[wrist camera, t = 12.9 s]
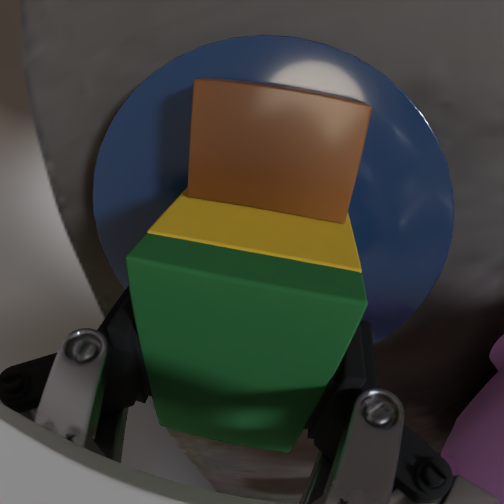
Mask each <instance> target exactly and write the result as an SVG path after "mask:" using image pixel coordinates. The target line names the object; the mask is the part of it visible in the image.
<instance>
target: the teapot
mask: <svg viewBox="0 0 504 504" xmlns="http://www.w3.org/2000/svg"><path fill="white" fill-rule="evenodd" d="M489 357H490V360H491V361H492V363H493V364H494V366H495V367H496V368H497V370H498V372H497V373H496V374H495V375H494V376H493V377H492V379H491V380H490V381H489V382H488V383H487V384H486V385H485V386H484V387H483V388H482V389H481V391H480V392H479V393H478V394H477V395H476V396H475V397H474V399H473V400H472V401H471V402H470V403H469V404H468V406H467V407H466V408H465V409H464V411H463V412H462V413H461V414H460V415H459V416H458V418H457V419H456V423H455V425H454V426H453V428H452V431H451V433H450V435H449V437H448V439H447V441H446V443H445V445H444V447H443V449H442V452H441V454H440V456H441V457H442V458H444V459H445V460H446V461H447V463H448V464H449V465H450V468H451V470H452V475H454V476H456V475H458V474H459V475H461V476H462V477H464V478H466V479H468V480H469V481H471V482H473V483H474V484H476V485H478V486H479V487H481V488H483V489H485V490H486V491H488V492H490V493H492V494H494V495H495V496H496V497H497V498H498V499H499V501H500V503H501V504H504V334H503V335H502V336H501V337H500V338H499V339H498V340H497V341H496V343H495V344H494V345H493V347H492V349H491V351H490V356H489Z"/></svg>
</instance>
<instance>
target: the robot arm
mask: <svg viewBox="0 0 504 504" xmlns="http://www.w3.org/2000/svg"><path fill="white" fill-rule="evenodd" d="M148 395H149V396H152V394H151V390H150V386H149V382H148V378H147V374H146V370H145V366H144V361H143V357H142V352H141V348H140V343H139V338H138V334H137V329H136V324H135V319H134V314H133V308H132V302H131V296H130V290H129V285H128V287H127V288H126V290H125V291H124V292H123V294H122V295H121V297H120V298H119V299H118V301H117V302H116V304H115V305H114V307H113V308H112V309H111V311H110V312H109V314H108V315H107V317H106V318H105V320H104V321H103V323H102V324H101V325H100V327H99V328H98V330H93V329H89V328H88V329H87V328H84V329H79V330H75V331H73V332H71V333H69V334H68V335H67V336H66V337H65V338H64V339H63V341H62V343H61V345H60V347H59V350H58V352H57V353H54V354H51V355H48V356H44V357H41V358H38V359H35V360H31V361H28V362H25V363H21V364H18V365H15V366H11V367H9V368H7V369H5V370H4V371H3V372H2V373H1V374H0V504H290V503H280V502H271V501H264V500H257V499H250V498H244V497H239V496H233V495H228V494H223V493H218V492H213V491H209V490H205V489H200V488H196V487H192V486H188V485H184V484H181V483H177V482H174V481H171V480H167V479H164V478H161V477H157V476H154V475H151V474H148V473H146V472H143V471H140V470H137V469H134V468H131V467H129V466H126V465H123V464H121V456H122V448H123V441H124V433H125V426H126V420H127V413H128V407H130V406H133V405H134V403H135V401H139V402H142V403H145V402H146V400H147V398H148ZM404 417H405V415H404V408H403V405H402V403H401V401H400V400H399V399H398V397H397V396H395V395H394V394H393V393H392V392H390V391H387V390H385V389H380V388H379V382H378V374H377V366H376V359H375V351H374V345H373V338H372V331H371V326H370V323H369V322H368V321H363V320H361V321H360V323H359V325H358V327H357V329H356V331H355V334H354V336H353V338H352V340H351V342H350V344H349V346H348V348H347V350H346V352H345V354H344V356H343V358H342V360H341V362H340V364H339V366H338V368H337V370H336V372H335V374H334V376H333V377H332V379H331V381H330V383H329V384H328V386H327V388H326V390H325V392H324V394H323V396H322V397H321V399H320V401H319V403H318V405H317V406H316V408H315V410H314V412H313V413H312V415H311V417H310V418H309V420H308V422H307V424H306V425H305V427H304V429H308V438H311V439H314V445H315V446H316V447H317V448H318V449H319V453H318V456H317V459H316V462H315V464H314V467H313V470H312V473H311V475H310V478H309V480H308V483H307V486H306V488H305V491H304V493H303V496H302V498H301V500H300V503H299V504H501V503H500V501H499V499H498V498H497V497H496V496H495V495H494V494H492V493H490V492H488V491H486V490H485V489H483V488H481V487H479V486H478V485H476V484H474V483H473V482H471V481H469V480H468V479H466V478H464V477H462V476H461V475H459V474H458V475H456V476H454V475H452V470H451V468H450V465H449V464H448V463H447V461H446V460H445V459H444V458H442V457H441V456H440V455H439V454H438V453H437V452H436V451H434V450H433V449H432V448H431V447H430V446H429V445H427V444H426V443H425V442H424V441H423V440H422V439H421V438H419V437H418V436H417V435H416V434H415V433H414V432H413V431H412V430H410V429H409V428H408V427H407V426H406V425H405V424H404Z"/></svg>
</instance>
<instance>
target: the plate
mask: <svg viewBox="0 0 504 504" xmlns="http://www.w3.org/2000/svg"><path fill="white" fill-rule="evenodd" d="M201 78H219V79H231V80H242V81H252V82H260V83H268V84H276V85H283V86H289V87H295V88H301V89H307V90H313V91H318V92H323V93H328V94H333V95H337V96H342V97H346V98H351V99H355V100H359V101H362V102H365V103H367V104H369V105H370V106H371V107H372V110H371V115H370V120H369V124H368V129H367V134H366V138H365V143H364V147H363V152H362V156H361V160H360V165H359V169H358V173H357V177H356V181H355V185H354V189H353V193H352V197H351V201H350V205H349V208H348V215H349V219H350V223H351V227H352V231H353V235H354V239H355V243H356V247H357V252H358V256H359V260H360V265H361V270H362V272H361V274H362V276H363V280H364V285H365V290H366V295H367V301H368V305H367V307H366V309H365V312H364V314H363V316H362V318H361V320H363V321H368V322H369V323H370V326H371V331H372V338H373V345H374V344H376V343H377V342H379V341H380V340H382V339H384V338H385V337H387V336H388V335H390V334H391V333H392V332H393V331H395V330H396V329H397V328H399V327H400V326H401V325H402V324H403V323H404V322H405V321H406V320H407V319H408V318H409V317H410V316H411V315H412V314H413V313H414V312H415V311H416V310H417V309H418V308H419V306H420V305H421V304H422V303H423V301H424V300H425V299H426V297H427V296H428V295H429V293H430V291H431V290H432V288H433V286H434V284H435V283H436V281H437V279H438V277H439V275H440V273H441V270H442V268H443V265H444V263H445V260H446V258H447V254H448V250H449V246H450V242H451V238H452V231H453V220H454V202H453V188H452V183H451V179H450V174H449V170H448V165H447V162H446V159H445V157H444V154H443V152H442V149H441V147H440V144H439V142H438V139H437V138H436V136H435V134H434V132H433V131H432V129H431V127H430V125H429V124H428V122H427V120H426V119H425V117H424V116H423V114H422V113H421V112H420V111H419V109H418V108H417V107H416V106H415V104H414V103H413V102H412V101H411V100H410V98H409V97H408V96H407V95H406V94H405V93H404V92H403V91H402V90H401V89H400V88H399V87H398V86H396V85H395V84H394V83H393V82H392V81H391V80H390V79H388V78H387V77H386V76H385V75H384V74H382V73H381V72H379V71H378V70H376V69H375V68H373V67H372V66H370V65H368V64H367V63H365V62H363V61H362V60H360V59H358V58H357V57H355V56H353V55H350V54H348V53H346V52H343V51H341V50H339V49H336V48H334V47H331V46H329V45H326V44H322V43H318V42H314V41H310V40H305V39H301V38H296V37H287V36H272V35H257V36H246V37H236V38H230V39H226V40H222V41H218V42H214V43H211V44H207V45H203V46H201V47H199V48H196V49H194V50H192V51H190V52H187V53H185V54H183V55H181V56H178V57H177V58H175V59H173V60H172V61H170V62H169V63H167V64H166V65H164V66H163V67H161V68H159V69H158V70H156V71H155V72H154V73H153V74H151V75H150V76H149V77H148V78H147V79H146V80H145V81H144V82H142V83H141V84H140V85H139V86H138V87H137V88H136V89H135V90H134V91H133V92H132V94H131V95H130V96H129V97H128V99H127V100H126V101H125V102H124V104H123V105H122V106H121V107H120V109H119V110H118V112H117V114H116V115H115V117H114V119H113V121H112V122H111V124H110V126H109V128H108V129H107V132H106V134H105V137H104V139H103V142H102V145H101V147H100V150H99V154H98V158H97V162H96V167H95V171H94V182H93V207H94V216H95V222H96V227H97V232H98V235H99V239H100V242H101V245H102V248H103V251H104V253H105V255H106V258H107V260H108V262H109V264H110V266H111V268H112V270H113V272H114V273H115V275H116V277H117V278H118V280H119V282H120V283H121V285H122V286H123V287H124V289H125V290H126V288H127V287H128V285H129V284H128V277H127V270H126V263H125V258H126V255H127V254H128V253H129V252H130V250H131V249H132V248H133V247H134V246H135V245H136V243H137V242H138V241H139V240H140V239H141V238H142V237H143V235H144V234H147V231H148V229H149V228H150V227H151V226H152V225H153V224H154V223H155V222H156V220H157V219H158V218H159V217H160V216H161V215H162V214H163V213H164V212H165V211H166V210H167V208H168V207H169V206H170V205H171V204H172V203H173V202H174V201H175V200H176V199H177V198H178V197H179V196H180V195H181V194H182V192H183V191H184V190H185V189H186V188H187V187H188V162H189V141H190V125H191V110H192V96H193V84H194V80H195V79H201Z"/></svg>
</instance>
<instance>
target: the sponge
mask: <svg viewBox="0 0 504 504" xmlns="http://www.w3.org/2000/svg"><path fill="white" fill-rule="evenodd" d="M187 188H188V187H187ZM187 188H186V189H185V190H184V191H183V192H182V194H181V195H180V196H179V197H178V198H177V199H176V200H175V201H174V202H173V203H172V204H171V205H170V206H169V207H168V208H167V210H166V211H165V212H164V213H163V214H162V215H161V216H160V217H159V218H158V219H157V220H156V222H155V223H154V224H153V225H152V226H151V227H150V228H149V229H148V231H147V234H144V235H143V237H142V238H141V239H140V240H139V241H138V242H137V243H136V245H135V246H134V247H133V248H132V249H131V250H130V252H129V253H128V254H127V255H126V258H125V263H126V270H127V277H128V284H129V290H130V296H131V302H132V308H133V314H134V319H135V324H136V329H137V334H138V338H139V343H140V348H141V352H142V357H143V361H144V366H145V370H146V374H147V378H148V382H149V386H150V390H151V394H152V399H153V402H154V406H155V410H156V413H157V417H158V419H159V423H160V425H161V426H165V427H168V428H172V429H175V430H179V431H182V432H186V433H190V434H193V435H197V436H201V437H205V438H210V439H214V440H218V441H223V442H228V443H233V444H238V445H243V446H248V447H254V448H260V449H266V450H273V451H280V452H290V450H291V449H292V447H293V445H294V444H295V442H296V441H297V439H298V437H299V436H300V434H301V432H302V431H303V429H304V427H305V425H306V424H307V422H308V420H309V418H310V417H311V415H312V413H313V412H314V410H315V408H316V406H317V405H318V403H319V401H320V399H321V397H322V396H323V394H324V392H325V390H326V388H327V386H328V384H329V383H330V381H331V379H332V377H333V376H334V374H335V372H336V370H337V368H338V366H339V364H340V362H341V360H342V358H343V356H344V354H345V352H346V350H347V348H348V346H349V344H350V342H351V340H352V338H353V336H354V334H355V331H356V329H357V327H358V325H359V323H360V321H361V318H362V316H363V314H364V312H365V309H366V307H367V305H368V301H367V295H366V290H365V285H364V280H363V276H362V274H361V272H362V270H361V265H360V260H359V256H358V252H357V247H356V243H355V239H354V235H353V231H352V227H351V223H350V219H349V215H348V212H347V216H346V220H345V223H344V224H340V223H335V222H330V221H324V220H319V219H314V218H309V217H304V216H298V215H293V214H287V213H282V212H276V211H271V210H265V209H259V208H254V207H248V206H242V205H236V204H230V203H224V202H217V201H211V200H205V199H198V198H192V197H188V196H187Z"/></svg>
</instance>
